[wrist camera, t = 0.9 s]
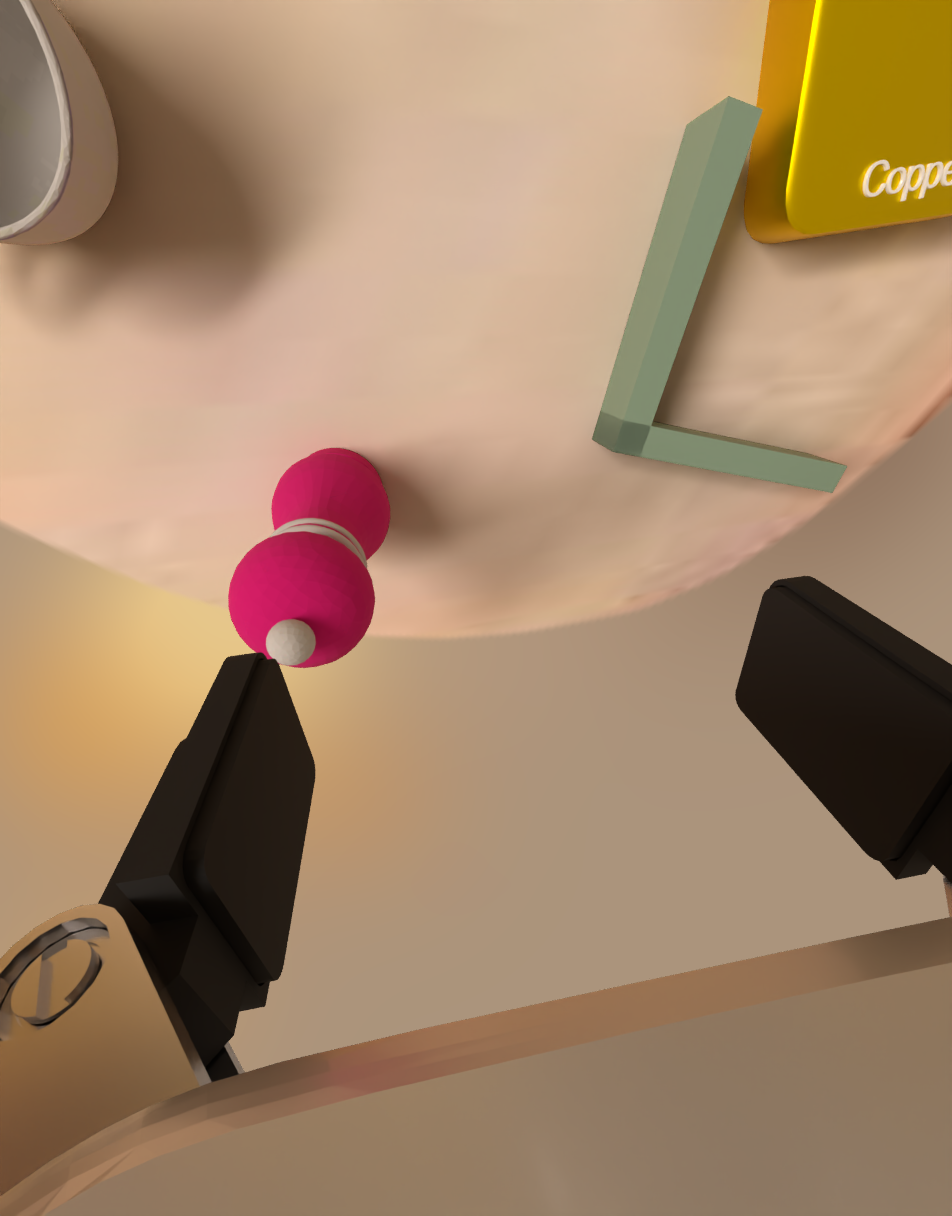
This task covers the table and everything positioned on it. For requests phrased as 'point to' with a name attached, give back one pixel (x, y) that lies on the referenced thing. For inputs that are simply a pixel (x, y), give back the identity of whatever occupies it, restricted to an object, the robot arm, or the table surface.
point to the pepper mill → (313, 562)
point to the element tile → (851, 118)
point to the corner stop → (666, 307)
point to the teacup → (50, 129)
